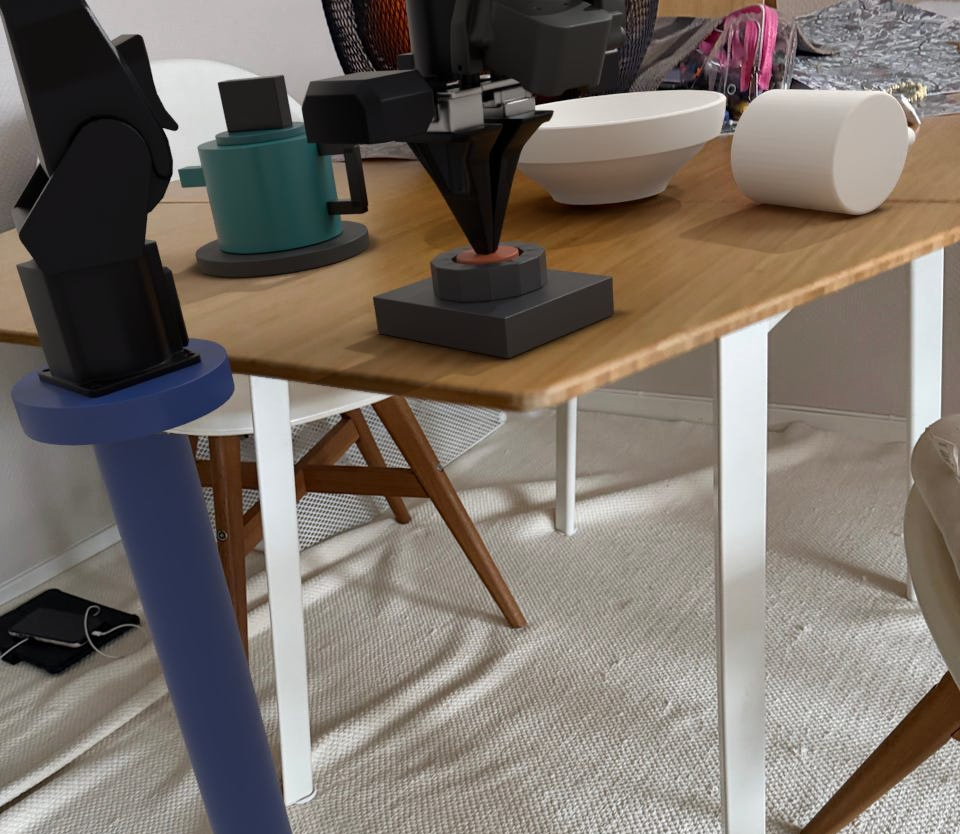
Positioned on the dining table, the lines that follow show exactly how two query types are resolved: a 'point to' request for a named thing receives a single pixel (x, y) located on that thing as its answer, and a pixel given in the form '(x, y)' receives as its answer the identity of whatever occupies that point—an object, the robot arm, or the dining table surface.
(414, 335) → the switch block
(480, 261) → the switch
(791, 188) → the mug
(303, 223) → the kettle
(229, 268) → the kettle base
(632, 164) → the bowl
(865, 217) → the dining table surface
